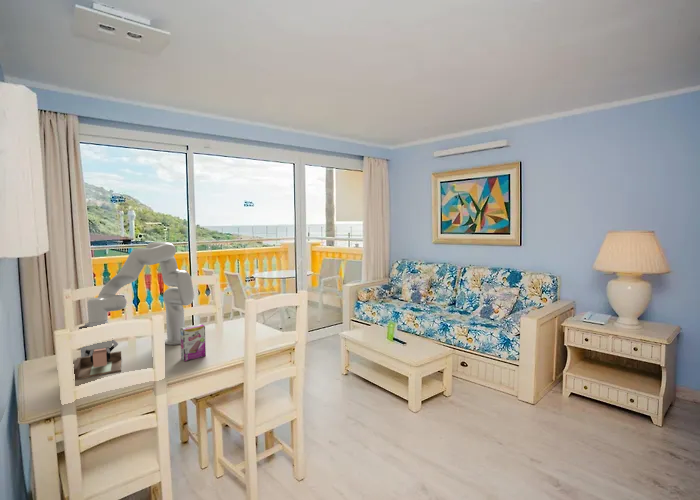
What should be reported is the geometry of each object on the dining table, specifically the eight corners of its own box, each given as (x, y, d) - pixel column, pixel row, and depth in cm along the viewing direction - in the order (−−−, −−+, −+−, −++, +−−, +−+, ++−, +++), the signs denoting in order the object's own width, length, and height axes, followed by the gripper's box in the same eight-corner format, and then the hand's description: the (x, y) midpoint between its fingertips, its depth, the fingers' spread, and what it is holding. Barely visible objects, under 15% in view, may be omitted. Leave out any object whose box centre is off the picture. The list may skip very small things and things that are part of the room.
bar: (106, 365, 174) (105, 352, 173) (93, 367, 171) (92, 354, 171) (107, 358, 182) (106, 346, 182) (95, 360, 180) (94, 348, 179)
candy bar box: (184, 362, 186) (183, 329, 185) (180, 359, 190) (179, 327, 188) (206, 356, 194) (205, 325, 193) (202, 353, 198) (201, 323, 196)
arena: (121, 360, 189) (121, 351, 188) (120, 371, 175) (120, 361, 175) (77, 367, 180) (77, 358, 179) (73, 380, 166) (72, 369, 166)
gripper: (75, 329, 168) (77, 368, 169) (119, 323, 176) (121, 360, 178) (77, 324, 174) (79, 362, 176) (119, 319, 183) (121, 355, 184)
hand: (100, 361), depth 177 cm, fingers closed on bar, 5 cm apart
